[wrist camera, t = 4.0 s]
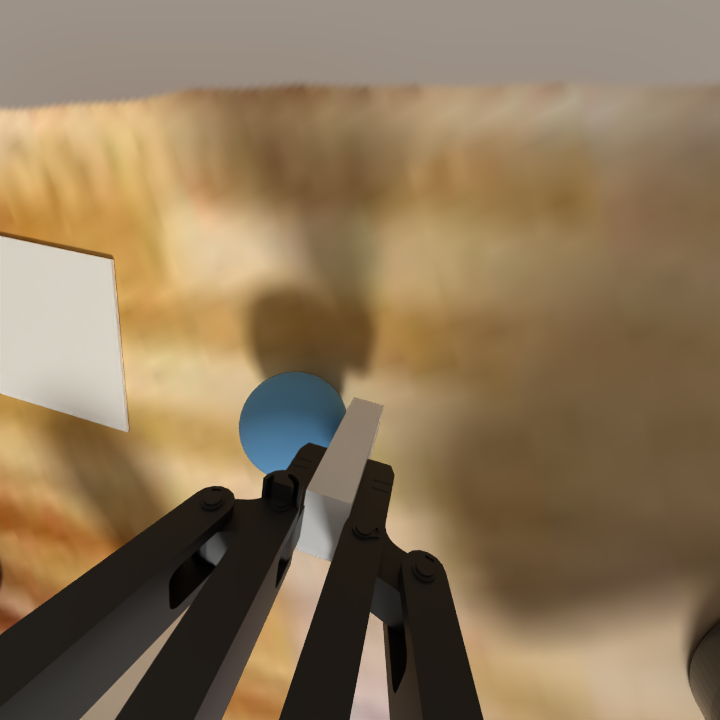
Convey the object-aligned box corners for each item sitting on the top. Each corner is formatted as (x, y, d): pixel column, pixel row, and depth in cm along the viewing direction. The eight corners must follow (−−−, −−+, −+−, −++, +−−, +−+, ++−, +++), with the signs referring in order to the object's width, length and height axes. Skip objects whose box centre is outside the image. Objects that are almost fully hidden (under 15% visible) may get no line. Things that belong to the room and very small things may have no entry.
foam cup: (117, 555, 30) (-98, 759, 18) (197, 542, 27) (1, 776, 15) (171, 635, 32) (8, 867, 20) (251, 631, 29) (115, 900, 17)
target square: (113, 259, 21) (110, 259, 21) (129, 430, 25) (126, 432, 25) (-42, 226, 23) (-46, 226, 23) (-3, 390, 27) (-6, 391, 27)
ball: (376, 396, 17) (260, 409, 14) (357, 489, 19) (251, 518, 16) (327, 354, 21) (231, 357, 18) (315, 433, 23) (226, 447, 20)
